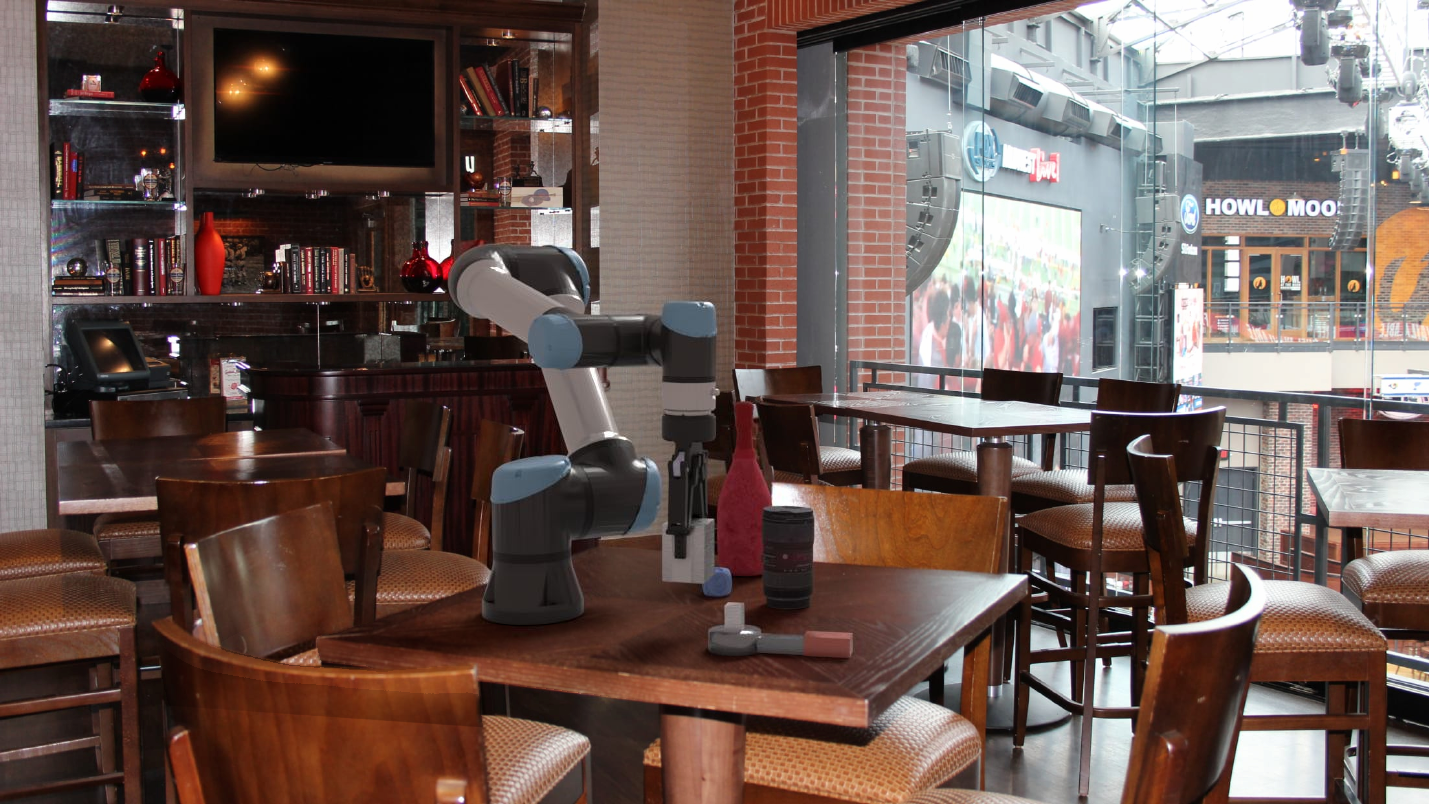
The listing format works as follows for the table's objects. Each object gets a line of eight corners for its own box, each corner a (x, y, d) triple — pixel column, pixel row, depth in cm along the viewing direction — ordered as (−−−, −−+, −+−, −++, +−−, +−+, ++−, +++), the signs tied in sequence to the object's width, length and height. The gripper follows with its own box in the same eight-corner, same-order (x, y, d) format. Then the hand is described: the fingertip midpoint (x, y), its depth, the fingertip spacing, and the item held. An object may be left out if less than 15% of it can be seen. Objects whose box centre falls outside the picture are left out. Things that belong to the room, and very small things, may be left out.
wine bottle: (718, 567, 220) (716, 399, 218) (773, 566, 220) (772, 399, 218) (716, 578, 210) (714, 403, 208) (773, 577, 210) (772, 402, 208)
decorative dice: (725, 590, 200) (725, 566, 200) (732, 595, 196) (731, 571, 196) (701, 592, 199) (701, 568, 199) (707, 597, 195) (707, 572, 195)
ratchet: (702, 654, 160) (702, 609, 160) (715, 641, 167) (714, 597, 167) (847, 662, 156) (847, 615, 156) (854, 648, 163) (854, 603, 163)
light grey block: (662, 581, 171) (662, 524, 170) (673, 572, 176) (673, 517, 176) (704, 583, 169) (704, 526, 169) (714, 574, 175) (714, 518, 174)
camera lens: (811, 611, 184) (811, 512, 183) (758, 609, 186) (757, 511, 185) (817, 600, 192) (817, 505, 191) (766, 598, 194) (766, 504, 193)
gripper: (698, 419, 161) (697, 592, 163) (729, 407, 179) (728, 563, 181) (643, 417, 162) (643, 589, 164) (680, 405, 181) (679, 560, 183)
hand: (687, 575), depth 173 cm, fingers closed on light grey block, 6 cm apart
